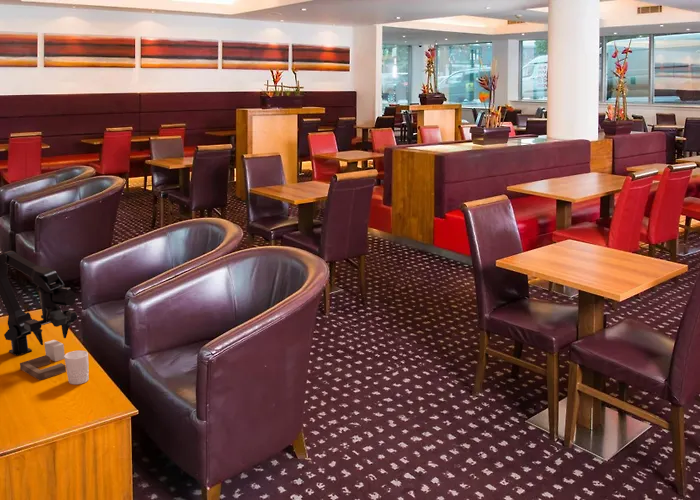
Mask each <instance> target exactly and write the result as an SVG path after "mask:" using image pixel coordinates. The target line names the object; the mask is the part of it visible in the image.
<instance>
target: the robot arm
mask: <svg viewBox="0 0 700 500" xmlns="http://www.w3.org/2000/svg"><path fill="white" fill-rule="evenodd" d="M8 266H11V267H12V268H14V269H16V270H17V271H19V272H22V273H23V274H24V275H27V276H28V277H30V278H31V281H32V283H34V284H35V285H37V287H36V288H35V289H34V291H35V292H38V293H39V296H40V297H39V298H40V304H39V308H40V309H41V314H42V315H40V318H41V320H37V319H34V318H32V316H31V313H30V312H29V311H28V312H26V311H23V309H22V307H21V306H20V303H19V301H18V298H17V296H16V293H15V292H14V289H13V287H12V284H11V282H10V280H9V278H8V270H9V267H8ZM50 285H51V286H50ZM65 286H66V284H65V283H64V281H63V280H62V279H61V277H60V276H59V275H58V273H57V271H56V270H55V269H53V268H51V267H48V266H40V265H38V264H36V263H34V262H32V261H30V260H28V259H26V258H25V257H23V256H21V255H19V254H17V252H16V251H14V250H9V251H5V252H2V253H1V254H0V299H1V301H2V304H3V306H4V308H5V310H6V312H7V316H8V318H7V326H8V329H7V330H6V332H5V333H3V335H4V338H5V340H6V341H10V342H11V349H9V350H8V353H10V354H12V355H14V356H17V357H18V356H19V355H23V354H26V353H30V352H32V351H33V349H31V348H29V344H28V337H27V336H29V335H31V334H32V333H33V334H34V336H35V338H36V339H37V341H38V343H39V345H41V346H43V345H44V340H43V334H42V333H43V329H41V328H42V326H45V325H47V324H52V326H53V327H54V328H55V327H56V328H58V327H60V326H61V331H62V337H63V339H67V335H68V333H69V330H70V326H71V325H72V324H73V323H74V322H75V321H77V320H78V319H79V318H78V313H77V312H76V311H74V310H72V309H65V310H62V309H61V307H60V306H65V307H72V306H74V304H75V302H76V299H77V295H76V293H75V292H74V291H73V290H72V288H71V287H65Z"/></svg>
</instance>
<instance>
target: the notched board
mask: <svg viewBox="0 0 700 500" xmlns="http://www.w3.org/2000/svg"><path fill="white" fill-rule="evenodd" d="M50 364H51V359H50V357H48V356H46V354H45V355H42V356H38V357H35V358H33V359H29V360H26V361H22V362H20V363H19V368H20V370H21V371H22V372H24V373H26V374H28V375H29V376H32V377H33V378H35V379H37V380H38V381H42V380H45V379H48V378H51V377H54V376H58V375H60V374H64V373H65V372H66V373H67V370H66V364H65V363H57V364H55V365H51V366H49V367H48V366H47V367H45V368H42V369H39V368H41V367H43V366H46V365H50Z"/></svg>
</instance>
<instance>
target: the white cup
mask: <svg viewBox="0 0 700 500" xmlns="http://www.w3.org/2000/svg"><path fill="white" fill-rule="evenodd" d="M64 358H65V359H64V365H65V367H66V374H67V375H66V376H67V380H68V383H69V384H70V385H81V384H85V383H87V382H88V381H89V379H90V378H89V377H90V376H89V375H90V374H89V372H90V371H89V353H88V351H86V350H73V351H69V352H66V353H65V355H64Z"/></svg>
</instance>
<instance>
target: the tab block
mask: <svg viewBox="0 0 700 500" xmlns="http://www.w3.org/2000/svg"><path fill="white" fill-rule="evenodd" d="M64 345H65V344H64V343H62V342H60V341H59V340H56V339H52V340H47V341H45V342H44V351H45V355H46V356H48V357H50V361H52V362H54V363H55V362H58V361H62V360H65V358H64V355H65V354H66V353H65V346H64Z"/></svg>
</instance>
